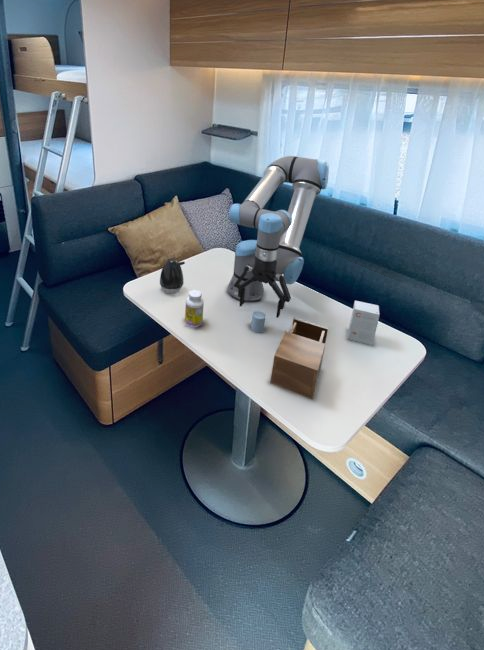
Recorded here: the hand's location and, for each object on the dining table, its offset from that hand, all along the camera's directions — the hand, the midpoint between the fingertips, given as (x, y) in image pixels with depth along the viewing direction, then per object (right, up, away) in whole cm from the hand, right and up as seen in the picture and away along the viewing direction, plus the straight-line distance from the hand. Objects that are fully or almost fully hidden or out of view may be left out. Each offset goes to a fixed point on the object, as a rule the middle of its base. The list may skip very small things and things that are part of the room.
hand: (259, 310), depth 149 cm
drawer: (+13, -11, -9) cm, 20 cm away
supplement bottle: (-24, -6, +5) cm, 25 cm away
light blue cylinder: (0, -8, +3) cm, 8 cm away
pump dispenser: (-32, +2, +27) cm, 41 cm away
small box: (+37, -10, 0) cm, 38 cm away
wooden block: (+7, -16, -20) cm, 27 cm away
